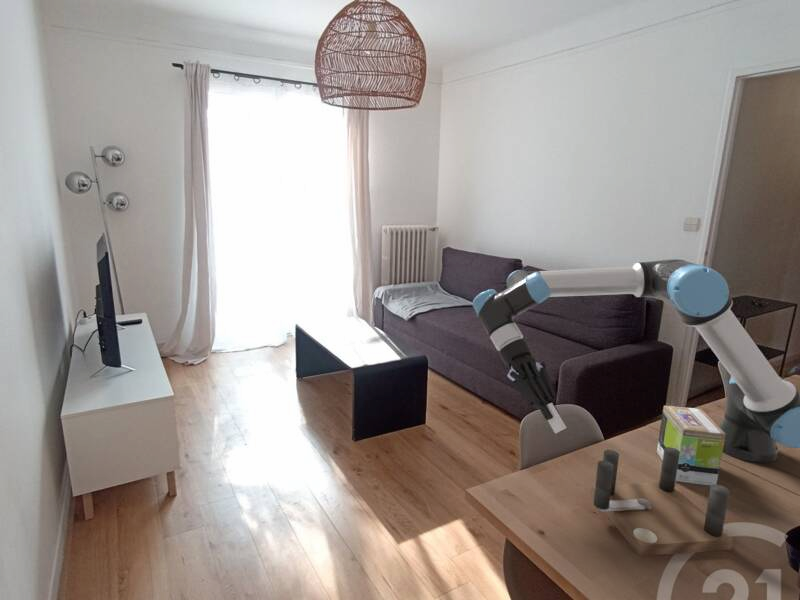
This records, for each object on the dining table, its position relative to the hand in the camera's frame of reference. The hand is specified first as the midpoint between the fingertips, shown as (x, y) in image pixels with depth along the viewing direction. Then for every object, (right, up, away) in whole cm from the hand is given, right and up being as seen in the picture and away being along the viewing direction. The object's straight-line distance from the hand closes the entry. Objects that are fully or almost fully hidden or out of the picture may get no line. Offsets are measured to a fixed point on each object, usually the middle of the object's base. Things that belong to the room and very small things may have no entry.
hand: (560, 430), depth 111 cm
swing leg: (+12, -16, -5) cm, 20 cm away
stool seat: (+19, -19, -5) cm, 27 cm away
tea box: (+39, -15, +15) cm, 44 cm away
